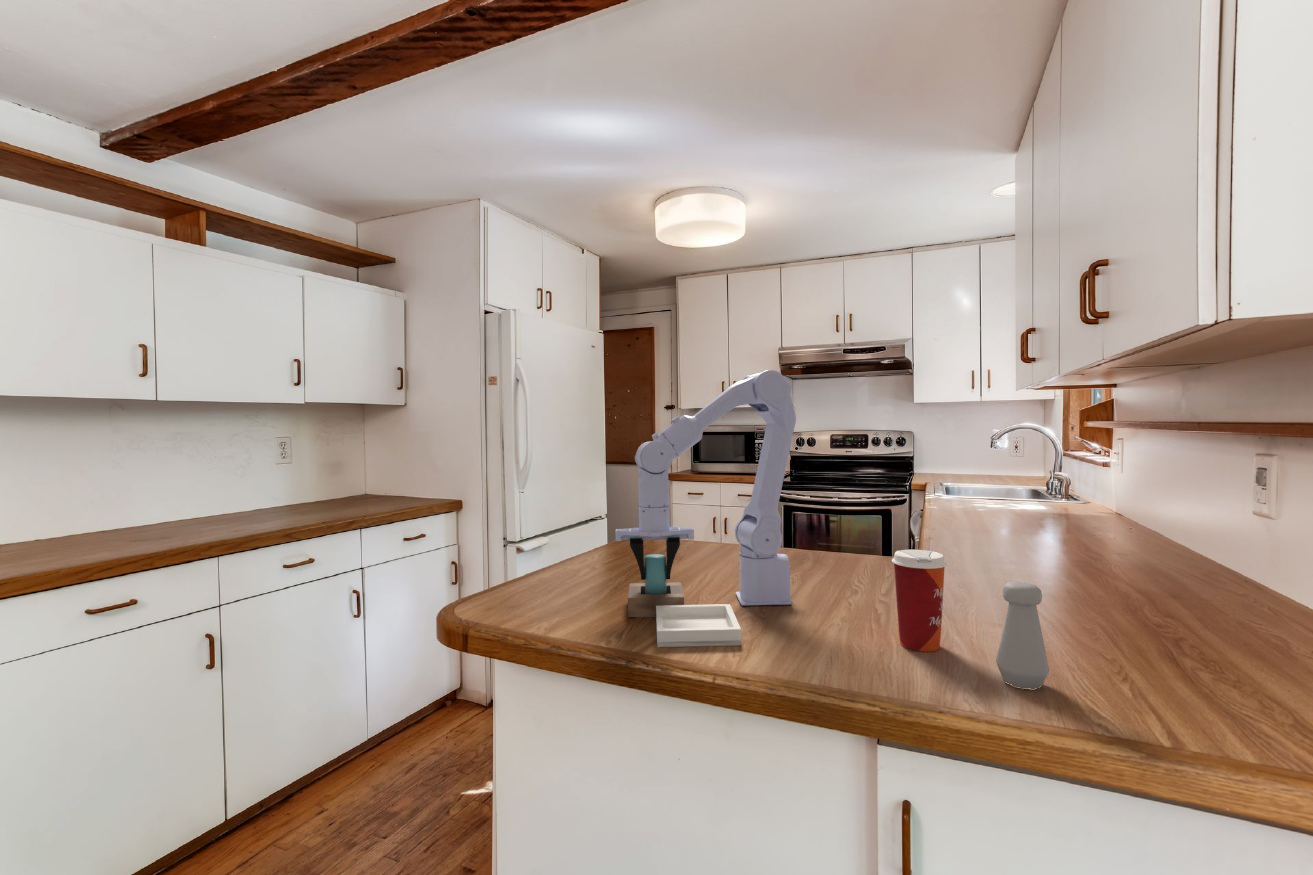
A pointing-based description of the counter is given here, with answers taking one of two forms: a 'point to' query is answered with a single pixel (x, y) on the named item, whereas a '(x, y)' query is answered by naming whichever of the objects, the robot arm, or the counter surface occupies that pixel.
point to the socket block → (652, 599)
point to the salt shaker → (1022, 638)
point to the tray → (697, 625)
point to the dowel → (655, 574)
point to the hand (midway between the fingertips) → (655, 578)
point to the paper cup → (919, 598)
